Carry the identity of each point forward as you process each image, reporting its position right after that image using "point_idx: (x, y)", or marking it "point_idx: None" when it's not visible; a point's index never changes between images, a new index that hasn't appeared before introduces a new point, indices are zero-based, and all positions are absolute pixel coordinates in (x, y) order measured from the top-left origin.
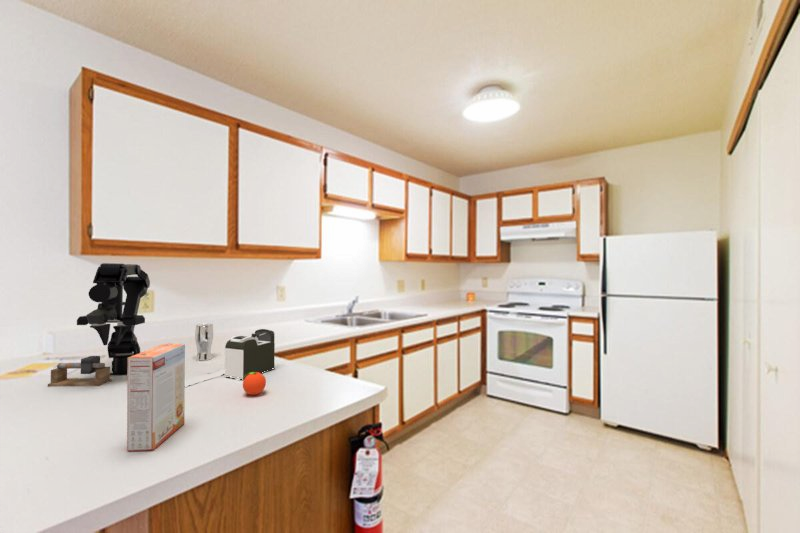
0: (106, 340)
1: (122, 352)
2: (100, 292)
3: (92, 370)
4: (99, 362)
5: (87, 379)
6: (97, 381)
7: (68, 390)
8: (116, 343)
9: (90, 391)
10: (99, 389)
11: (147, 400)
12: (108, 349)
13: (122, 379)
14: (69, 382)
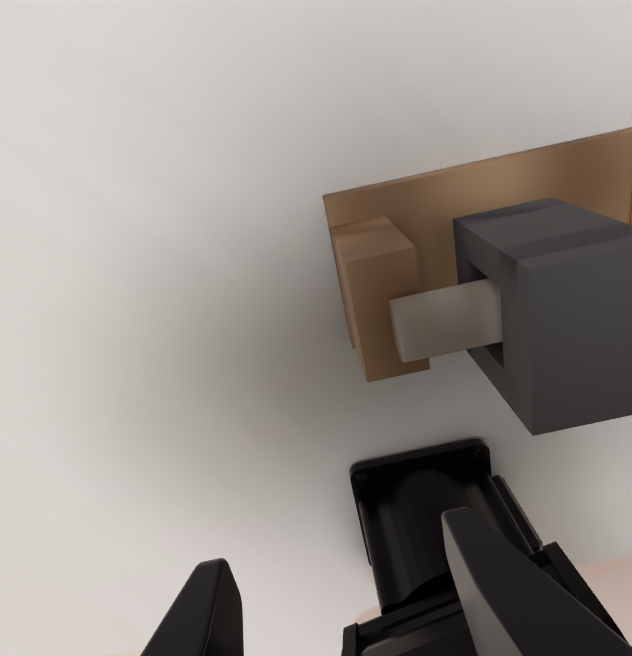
0: (483, 638)
1: (436, 621)
2: None
3: (464, 257)
4: (495, 379)
5: None
6: (366, 221)
7: (488, 27)
8: (181, 595)
9: (256, 36)
10: (229, 108)
11: None
12: (598, 614)
13: (291, 376)
14: (617, 177)
